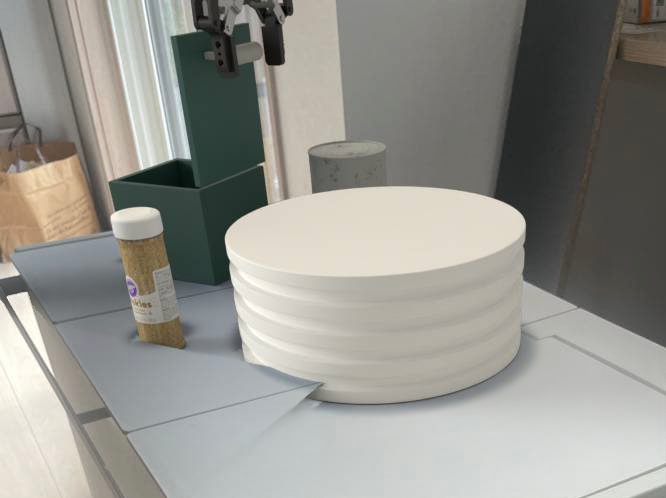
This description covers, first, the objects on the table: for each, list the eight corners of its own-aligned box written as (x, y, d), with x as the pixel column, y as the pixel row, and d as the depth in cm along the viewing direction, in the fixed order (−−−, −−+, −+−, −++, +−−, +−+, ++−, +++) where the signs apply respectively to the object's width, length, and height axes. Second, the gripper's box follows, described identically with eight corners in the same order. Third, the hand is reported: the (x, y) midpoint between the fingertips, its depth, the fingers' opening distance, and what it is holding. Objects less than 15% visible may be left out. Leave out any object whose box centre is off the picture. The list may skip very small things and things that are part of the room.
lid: (169, 36, 85) (209, 37, 83) (243, 22, 94) (280, 23, 92) (195, 186, 94) (231, 190, 92) (260, 161, 103) (294, 164, 101)
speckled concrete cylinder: (305, 260, 107) (294, 156, 99) (334, 237, 114) (325, 138, 106) (376, 265, 104) (370, 159, 97) (400, 241, 111) (396, 141, 104)
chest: (129, 272, 105) (107, 181, 99) (192, 242, 114) (176, 157, 108) (215, 286, 100) (199, 191, 94) (275, 254, 109) (263, 165, 103)
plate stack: (578, 352, 81) (590, 231, 74) (322, 435, 70) (307, 301, 63) (423, 274, 101) (420, 172, 94) (202, 329, 89) (181, 218, 83)
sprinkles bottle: (132, 352, 85) (98, 215, 77) (163, 335, 89) (134, 203, 81) (166, 360, 84) (134, 221, 76) (196, 343, 87) (169, 208, 79)
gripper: (240, -119, 86) (262, 61, 96) (148, -120, 76) (182, 80, 86) (301, -123, 84) (318, 62, 93) (214, -125, 74) (242, 83, 83)
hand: (253, 71), depth 90 cm, fingers open, 8 cm apart
